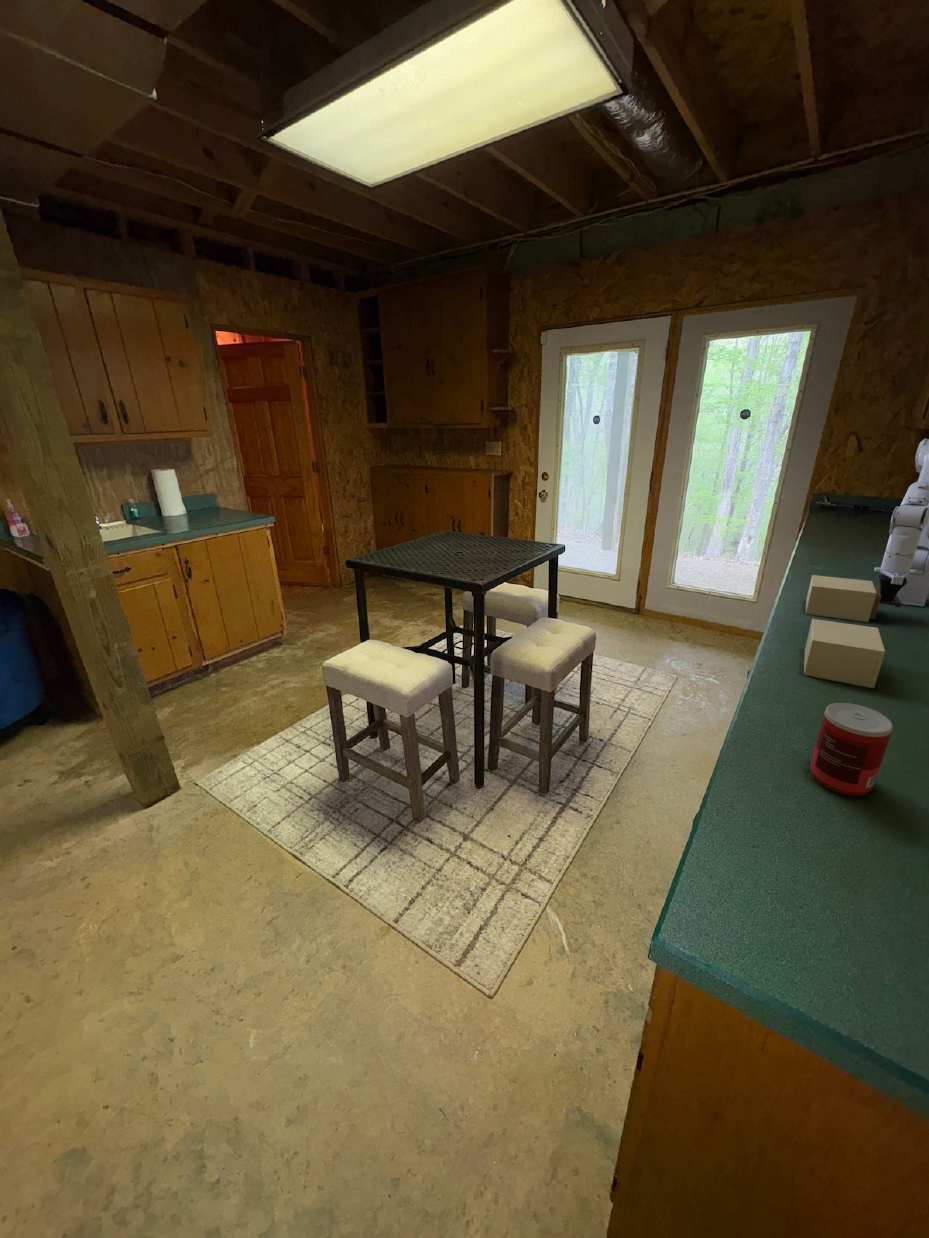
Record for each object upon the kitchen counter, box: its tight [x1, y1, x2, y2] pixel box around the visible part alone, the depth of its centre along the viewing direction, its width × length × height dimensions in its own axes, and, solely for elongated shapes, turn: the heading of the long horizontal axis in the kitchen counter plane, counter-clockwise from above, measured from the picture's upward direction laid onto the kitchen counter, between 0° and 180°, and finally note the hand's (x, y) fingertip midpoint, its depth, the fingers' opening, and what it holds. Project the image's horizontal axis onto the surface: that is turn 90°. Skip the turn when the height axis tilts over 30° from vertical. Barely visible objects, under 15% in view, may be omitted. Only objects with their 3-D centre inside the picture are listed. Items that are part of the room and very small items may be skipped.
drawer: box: [869, 584, 903, 620], centre depth 131 cm, size 17×10×6 cm, turn 56°
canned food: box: [809, 702, 893, 797], centre depth 70 cm, size 8×8×11 cm
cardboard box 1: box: [805, 574, 876, 623], centre depth 133 cm, size 14×12×8 cm
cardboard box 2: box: [803, 618, 886, 689], centre depth 103 cm, size 14×12×8 cm
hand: (884, 603), depth 127 cm, fingers closed, pressing on drawer
